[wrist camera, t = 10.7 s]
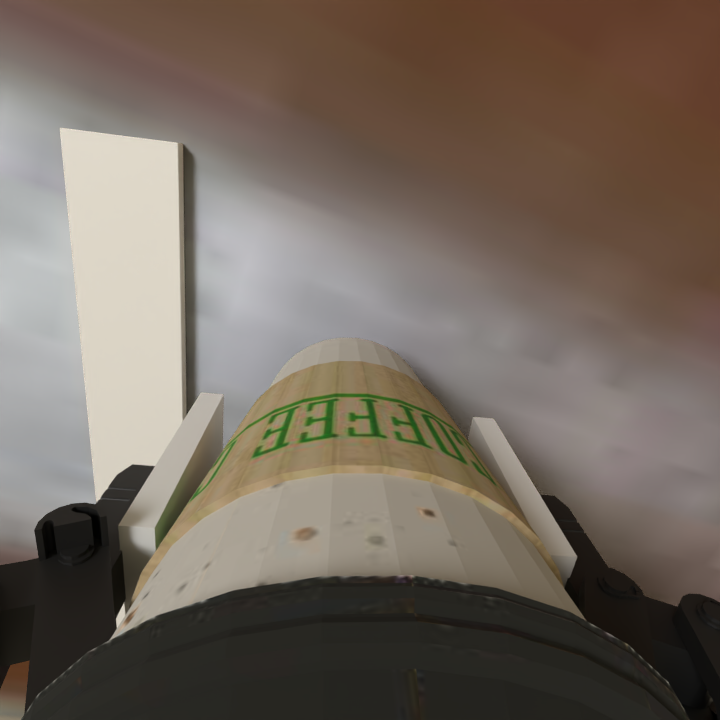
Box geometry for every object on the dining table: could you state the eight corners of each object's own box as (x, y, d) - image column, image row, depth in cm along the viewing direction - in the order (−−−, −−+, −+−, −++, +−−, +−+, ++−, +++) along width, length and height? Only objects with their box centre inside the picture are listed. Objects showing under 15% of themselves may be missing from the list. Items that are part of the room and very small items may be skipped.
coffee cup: (329, 231, 17) (273, 566, 3) (521, 397, 19) (1000, 1006, 5) (170, 425, 19) (-292, 1124, 5) (359, 548, 22) (391, 1231, 8)
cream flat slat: (113, 618, 26) (108, 628, 25) (69, 129, 17) (59, 127, 17) (189, 623, 26) (186, 632, 26) (182, 143, 18) (177, 142, 17)
